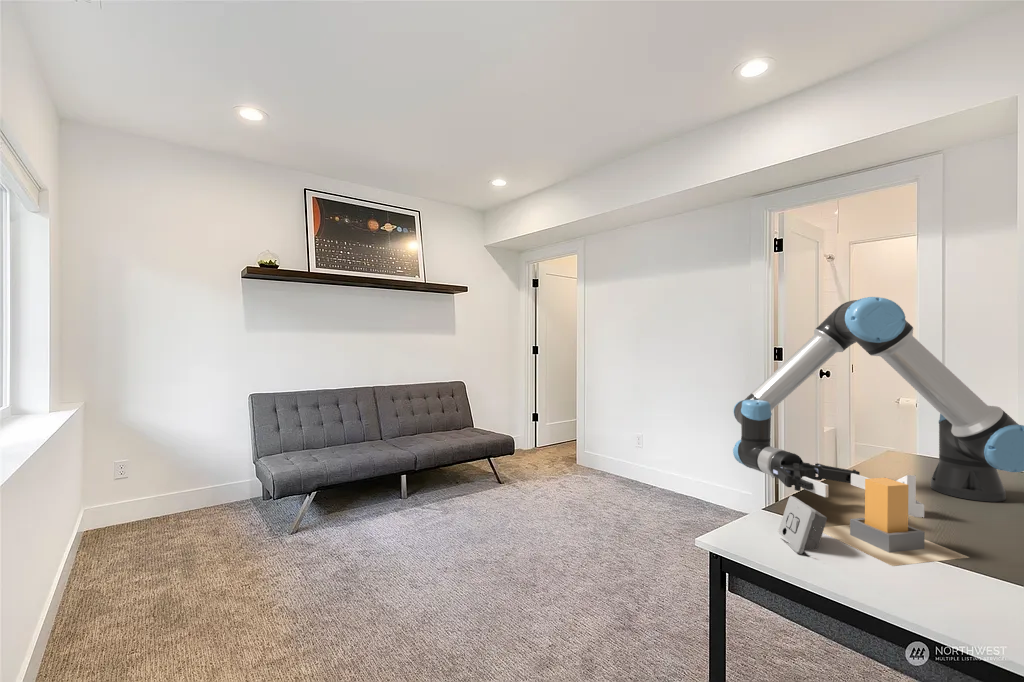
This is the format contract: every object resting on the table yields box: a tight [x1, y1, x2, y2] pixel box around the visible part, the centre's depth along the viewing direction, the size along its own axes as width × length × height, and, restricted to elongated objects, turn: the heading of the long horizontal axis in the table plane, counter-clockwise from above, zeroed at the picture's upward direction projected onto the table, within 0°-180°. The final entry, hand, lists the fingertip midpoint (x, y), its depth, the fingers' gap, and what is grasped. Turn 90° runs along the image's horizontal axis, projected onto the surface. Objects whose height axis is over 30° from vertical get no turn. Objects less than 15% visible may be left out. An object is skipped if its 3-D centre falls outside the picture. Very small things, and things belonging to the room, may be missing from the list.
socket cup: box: [849, 517, 926, 553], centre depth 100 cm, size 9×9×3 cm
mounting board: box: [822, 524, 970, 567], centre depth 100 cm, size 18×18×1 cm
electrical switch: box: [777, 495, 828, 555], centre depth 100 cm, size 9×5×9 cm, turn 175°
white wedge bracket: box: [895, 474, 925, 519], centre depth 119 cm, size 4×10×9 cm, turn 168°
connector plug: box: [864, 477, 909, 533], centre depth 100 cm, size 5×5×12 cm
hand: (852, 489), depth 107 cm, fingers open, 13 cm apart
